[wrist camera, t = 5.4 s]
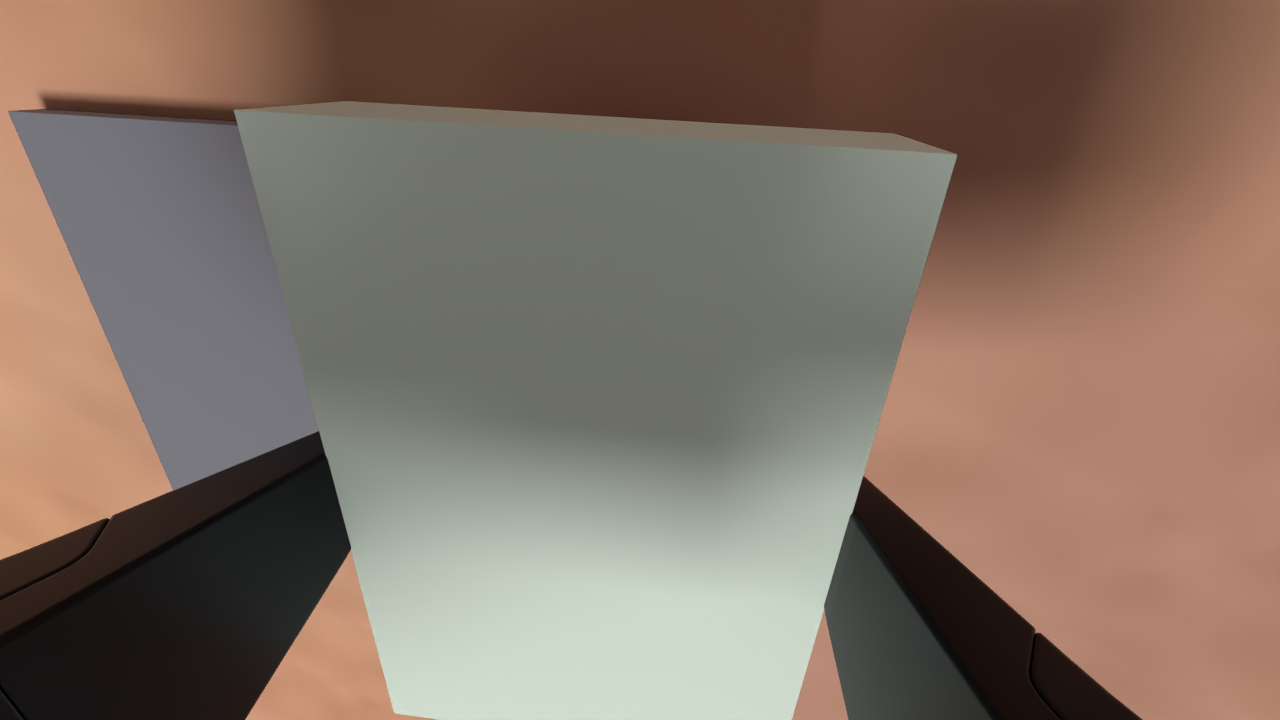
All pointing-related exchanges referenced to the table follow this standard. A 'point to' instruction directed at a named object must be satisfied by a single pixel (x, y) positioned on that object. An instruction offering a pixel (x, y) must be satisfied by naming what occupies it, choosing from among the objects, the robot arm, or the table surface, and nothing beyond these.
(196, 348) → the mat
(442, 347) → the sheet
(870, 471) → the table surface
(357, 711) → the table surface
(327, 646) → the table surface
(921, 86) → the table surface
